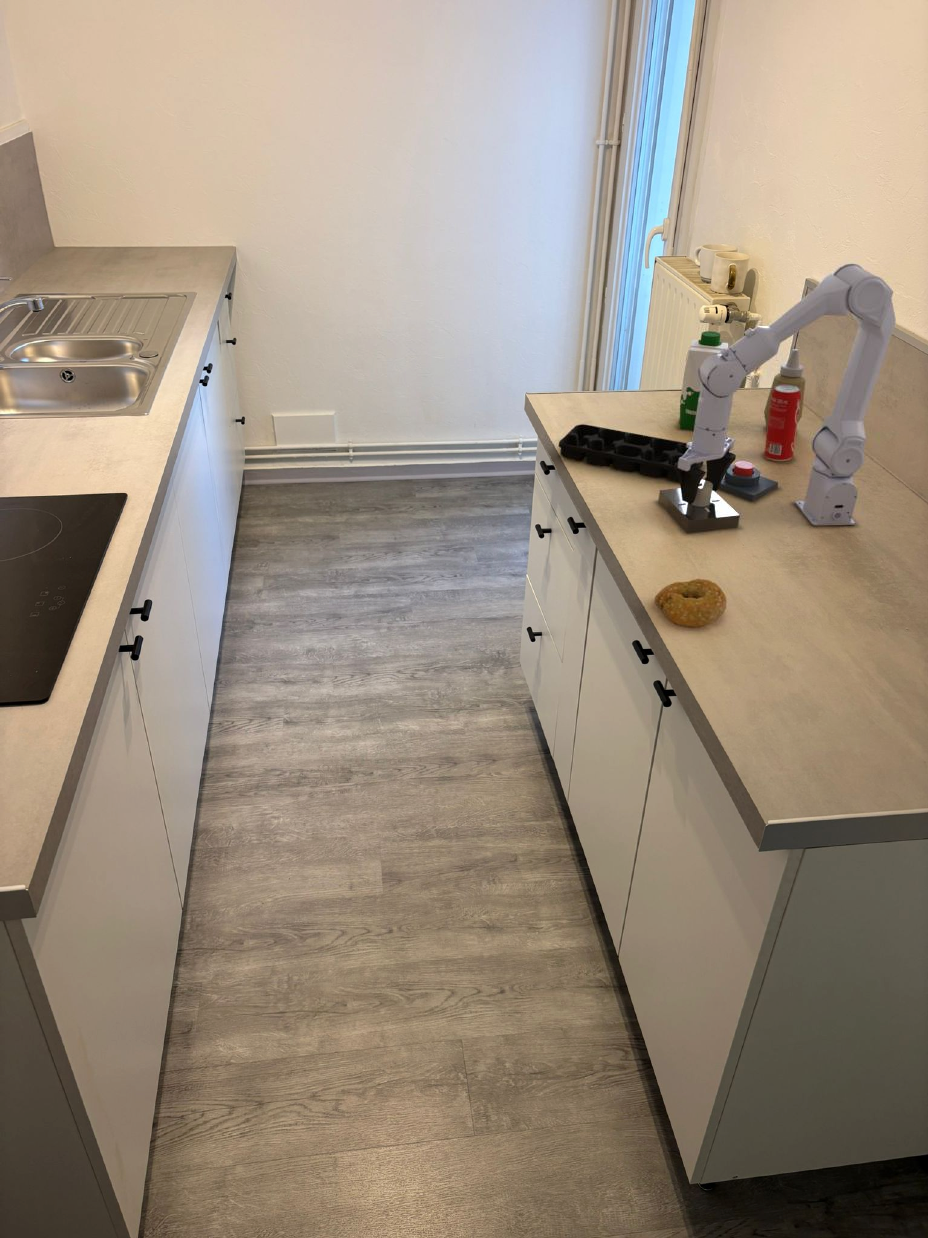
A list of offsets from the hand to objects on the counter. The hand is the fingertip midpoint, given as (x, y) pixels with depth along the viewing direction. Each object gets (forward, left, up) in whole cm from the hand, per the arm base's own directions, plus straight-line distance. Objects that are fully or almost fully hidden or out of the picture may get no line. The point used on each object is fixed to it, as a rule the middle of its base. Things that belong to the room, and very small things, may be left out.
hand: (699, 495), depth 177 cm
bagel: (-33, +10, -4) cm, 35 cm away
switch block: (+12, -12, -4) cm, 17 cm away
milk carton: (+44, -12, -4) cm, 46 cm away
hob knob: (0, 0, -1) cm, 1 cm away
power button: (+12, -12, -1) cm, 17 cm away
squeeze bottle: (+41, -30, -4) cm, 51 cm away
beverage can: (+26, -24, -4) cm, 36 cm away
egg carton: (+25, +7, -4) cm, 26 cm away
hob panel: (0, 0, -4) cm, 4 cm away
